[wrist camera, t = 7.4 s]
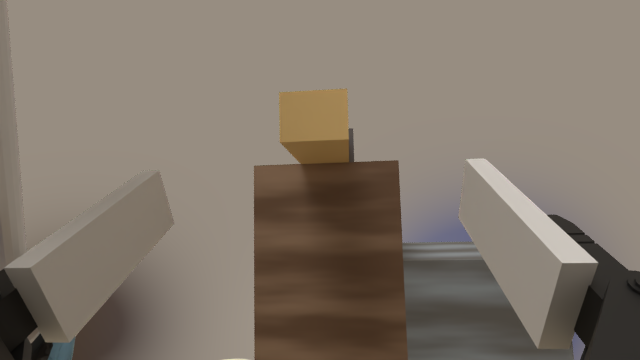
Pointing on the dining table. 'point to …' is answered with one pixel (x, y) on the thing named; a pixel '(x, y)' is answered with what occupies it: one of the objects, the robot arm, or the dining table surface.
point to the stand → (368, 276)
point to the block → (316, 126)
